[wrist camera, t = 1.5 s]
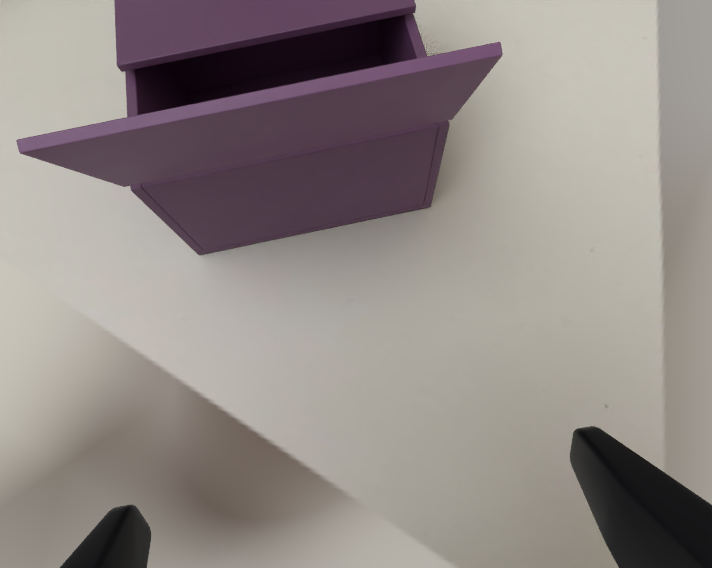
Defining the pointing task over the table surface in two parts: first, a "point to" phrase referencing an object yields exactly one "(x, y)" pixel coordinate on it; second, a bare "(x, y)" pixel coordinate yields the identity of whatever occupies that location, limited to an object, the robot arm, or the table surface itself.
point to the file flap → (270, 120)
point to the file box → (264, 71)
